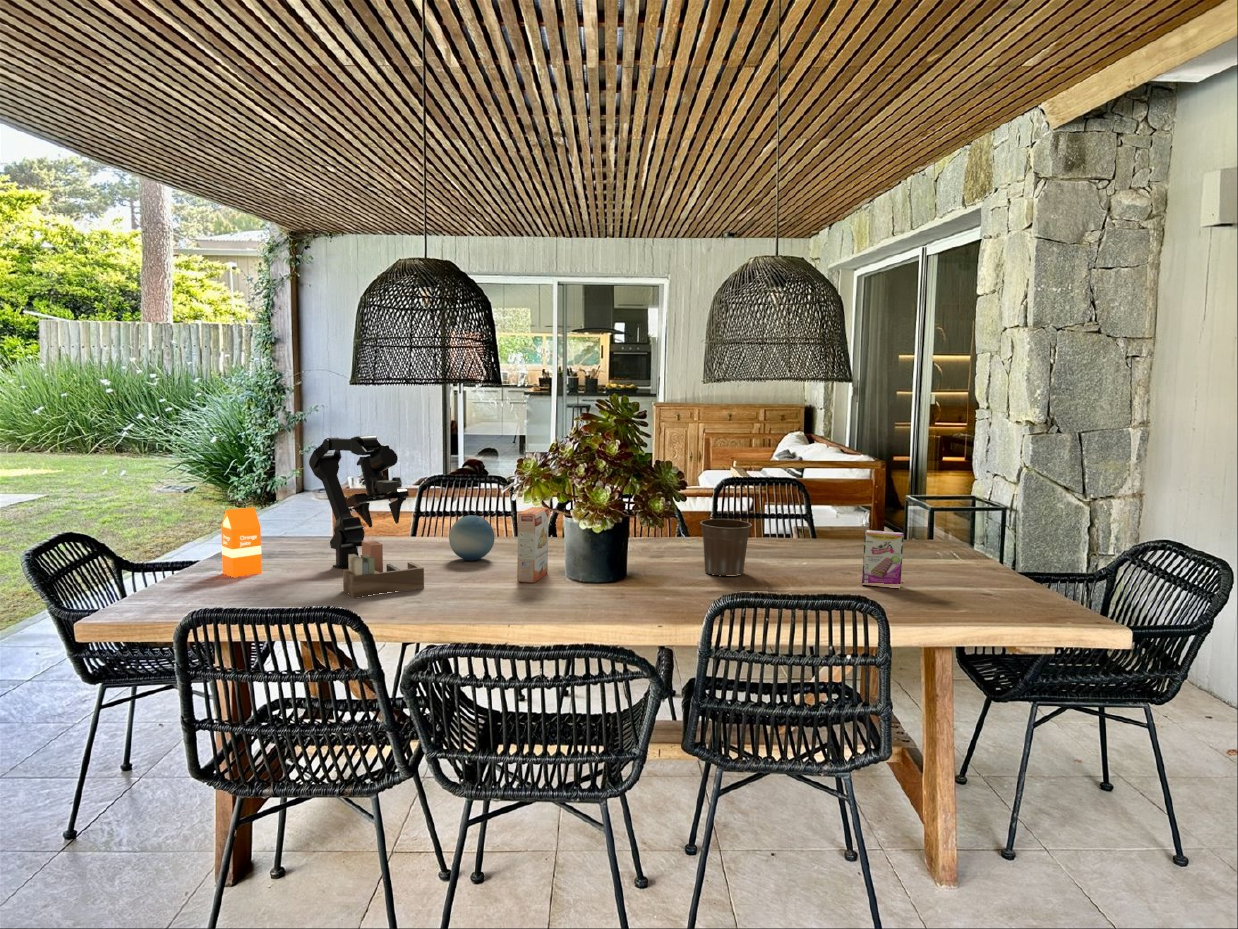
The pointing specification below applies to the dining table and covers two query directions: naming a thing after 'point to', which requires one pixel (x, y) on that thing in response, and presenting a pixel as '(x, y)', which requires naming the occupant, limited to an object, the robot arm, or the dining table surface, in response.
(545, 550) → the cracker box
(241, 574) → the orange juice
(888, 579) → the candy bar box
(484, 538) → the decorative ball
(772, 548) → the dining table surface
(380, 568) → the book
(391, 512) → the robot arm
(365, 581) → the book rack
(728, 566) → the plant pot
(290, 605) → the dining table surface
